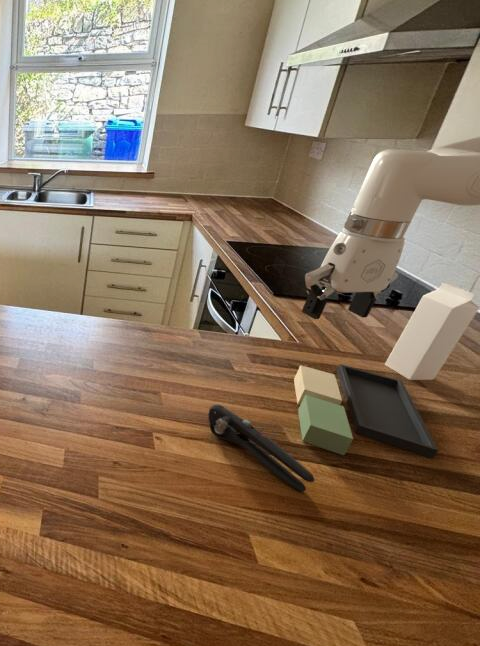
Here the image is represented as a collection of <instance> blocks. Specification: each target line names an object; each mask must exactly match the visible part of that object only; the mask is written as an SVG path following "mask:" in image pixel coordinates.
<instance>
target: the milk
mask: <svg viewBox="0 0 480 646" xmlns="http://www.w3.org/2000/svg"><path fill="white" fill-rule="evenodd" d="M475 296H476V294H475V293H474V292H471V291H468V290H466V289H462V288H460V287H457V286H454V285H452V284H449V283H446V282H442V283H441V285H440V286H439V288H437V289H434V290H432V291H429V292H428V293H426V294H424V295H422V296H421V298H420V300H419V302H418V304H417V306H416V307H415V310H414V311H413V313H412V315H411V316H410V318H409V320H408V322H407V324H406V325H405V327H404V328H403V330H402V332H401V334H400V336H399V338H398V340H397V341H396V343H395V345H394V347H393V349H392V351H391V352H390V354H389V356H388V357H387V359H386V361H385V363H384V366H386V367H387V368H389V369H391V370H392V371H393V372H396V373H397V374H399V375H400V376H402V377H404V378H405V379H407V380H409V381H432V380H435V378H437V376H438V374H439V372H440V371H441V369H442V368H443V366H444V364H445V363H446V361H447V360H448V358H449V357H450V355H451V354H452V352H453V350H455V347H456V346H457V344H458V342H459V341H460V339H461V338H462V337H463V334H464V333H465V332H466V330H467V328H468V327H469V325H470V324H471V322H472V321H473V319H474V318H475V316H476V314H477V313H478V312H479V310H480V306H478V305H477V304H476V303H475V302H474V301H473V300H474V298H475Z"/></svg>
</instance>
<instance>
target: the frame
mask: <svg viewBox="0 0 480 646" xmlns="http://www.w3.org/2000/svg"><path fill="white" fill-rule="evenodd" d="M336 374H337V377H338V381H339V383H340V386H341V391H342V394H343V397H344V401H345V405H346V407H347V410H348V411H347V412H348V415H349V417H350V420H351V425H352V427H353V430H354V433H355V434H356V435H359V436H362V437H366V438H368V439H371V440H374V441H378V442H381V443H384V444H386V445H390V446H393V447H396V448H399V449H403V450H405V451H409V452H412V453H414V454H418V455H421V456H424V457H427V458H430V459H434V458H435V456H436V455H437V453H438V452H439V448H438V446H437V445H436V443H435V442H434V438H433V437H432V435H431V433H430V432H429V430H428V427H427V426H426V424H425V422H424V420H423V418H422V417H421V414H420V412H419V411H418V408H417V407H416V405H415V403H414V401H413V399H412V397H411V395H410V394H409V391H408V389H407V388H406V385H405V384H404V382H403V380H402V379H398V378H395V377H390V376H387V375H383V374H380V373H376V372H373V371H372V372H371V371H368V370H364V369H360V368H357V367H353V366H349V365H345V364H341V363H340V364H339V365H338V367H337V369H336Z"/></svg>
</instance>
